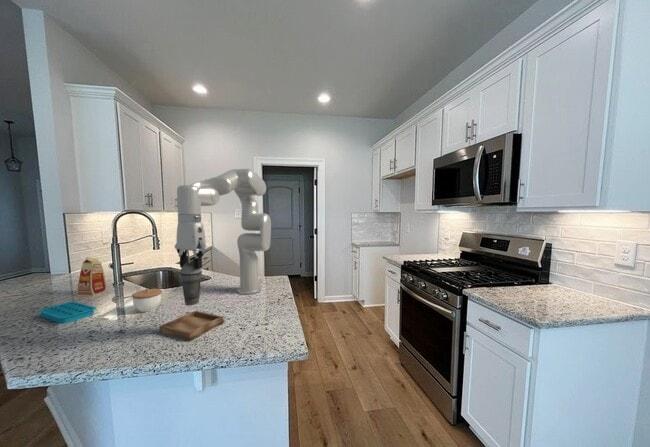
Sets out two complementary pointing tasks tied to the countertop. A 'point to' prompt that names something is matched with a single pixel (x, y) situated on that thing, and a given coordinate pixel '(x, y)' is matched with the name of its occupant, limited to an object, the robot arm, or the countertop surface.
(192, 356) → the countertop surface
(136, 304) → the lidded jar
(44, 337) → the countertop surface
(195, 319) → the walnut tray
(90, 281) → the milk carton
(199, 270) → the beverage cup
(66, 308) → the ice cube tray
